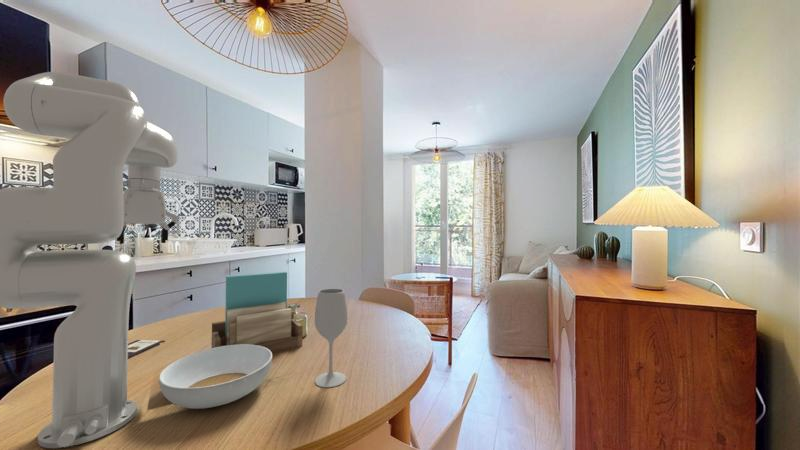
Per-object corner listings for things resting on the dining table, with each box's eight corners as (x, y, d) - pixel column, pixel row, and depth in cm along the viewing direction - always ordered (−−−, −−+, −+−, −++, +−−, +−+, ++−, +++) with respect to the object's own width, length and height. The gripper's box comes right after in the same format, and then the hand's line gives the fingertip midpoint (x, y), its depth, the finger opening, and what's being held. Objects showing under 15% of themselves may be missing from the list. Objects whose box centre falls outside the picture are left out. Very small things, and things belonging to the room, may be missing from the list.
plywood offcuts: (290, 347, 88) (291, 303, 89) (227, 360, 79) (228, 312, 79) (287, 343, 91) (288, 301, 91) (226, 356, 82) (227, 309, 82)
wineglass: (314, 390, 68) (314, 295, 68) (314, 374, 75) (314, 288, 75) (348, 385, 70) (349, 293, 70) (345, 370, 77) (345, 287, 77)
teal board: (286, 342, 92) (287, 272, 93) (225, 354, 83) (226, 277, 83) (284, 340, 94) (285, 271, 94) (224, 352, 85) (225, 276, 85)
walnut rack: (302, 351, 89) (302, 318, 90) (214, 370, 77) (215, 332, 77) (292, 340, 98) (292, 311, 98) (211, 357, 85) (211, 322, 85)
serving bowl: (151, 394, 66) (151, 361, 66) (252, 364, 81) (253, 338, 81) (168, 441, 51) (168, 399, 51) (288, 394, 66) (288, 362, 66)
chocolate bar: (74, 365, 78) (137, 340, 96) (74, 368, 78) (137, 343, 96) (108, 366, 78) (165, 340, 96) (108, 369, 78) (165, 343, 96)
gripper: (105, 181, 84) (103, 244, 83) (181, 188, 96) (180, 242, 96) (104, 184, 89) (102, 243, 88) (176, 190, 101) (175, 242, 101)
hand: (143, 243), depth 92 cm, fingers open, 9 cm apart
